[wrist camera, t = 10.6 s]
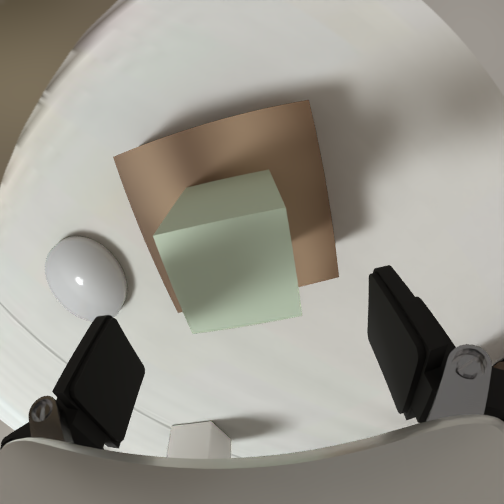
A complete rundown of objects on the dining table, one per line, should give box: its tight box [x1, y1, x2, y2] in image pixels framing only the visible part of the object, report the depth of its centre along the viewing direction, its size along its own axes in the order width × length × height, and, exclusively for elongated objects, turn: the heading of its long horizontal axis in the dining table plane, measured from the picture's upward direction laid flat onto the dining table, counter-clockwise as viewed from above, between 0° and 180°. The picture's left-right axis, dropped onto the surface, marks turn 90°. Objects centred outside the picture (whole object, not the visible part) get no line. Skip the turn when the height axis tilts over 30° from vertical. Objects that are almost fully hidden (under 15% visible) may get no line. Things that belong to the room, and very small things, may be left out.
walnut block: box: [113, 100, 339, 313], centre depth 20 cm, size 12×12×5 cm
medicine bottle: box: [167, 421, 231, 459], centre depth 33 cm, size 7×7×12 cm
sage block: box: [153, 170, 302, 334], centre depth 15 cm, size 5×5×7 cm
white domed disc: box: [45, 236, 127, 322], centre depth 24 cm, size 9×9×2 cm
